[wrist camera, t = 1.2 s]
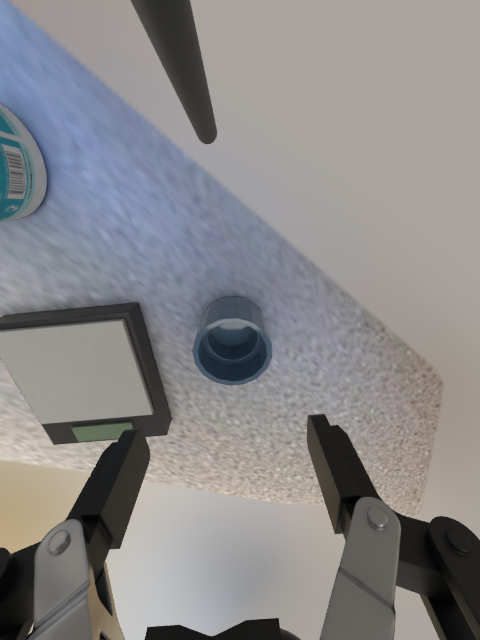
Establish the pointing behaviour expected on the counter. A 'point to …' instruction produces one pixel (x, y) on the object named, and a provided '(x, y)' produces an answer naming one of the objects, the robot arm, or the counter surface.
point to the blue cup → (232, 342)
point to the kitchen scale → (86, 372)
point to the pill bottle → (19, 169)
